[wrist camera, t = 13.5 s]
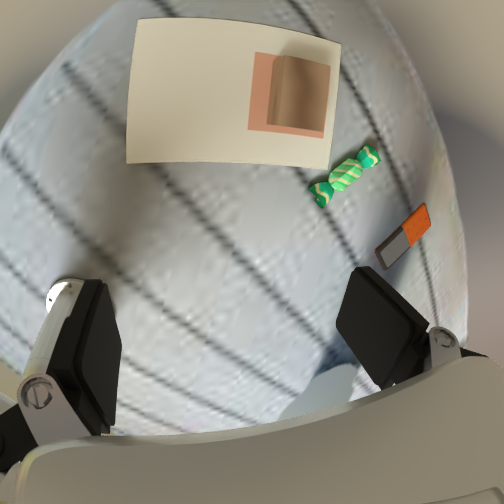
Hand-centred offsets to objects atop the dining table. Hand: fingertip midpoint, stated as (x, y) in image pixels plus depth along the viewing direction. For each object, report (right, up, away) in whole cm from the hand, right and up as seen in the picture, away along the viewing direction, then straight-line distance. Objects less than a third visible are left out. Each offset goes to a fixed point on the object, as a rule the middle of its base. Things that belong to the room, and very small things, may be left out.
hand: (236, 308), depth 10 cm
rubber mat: (-1, +23, +21) cm, 31 cm away
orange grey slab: (+31, +5, +40) cm, 50 cm away
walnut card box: (+6, +23, +22) cm, 32 cm away
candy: (+14, +14, +30) cm, 36 cm away
